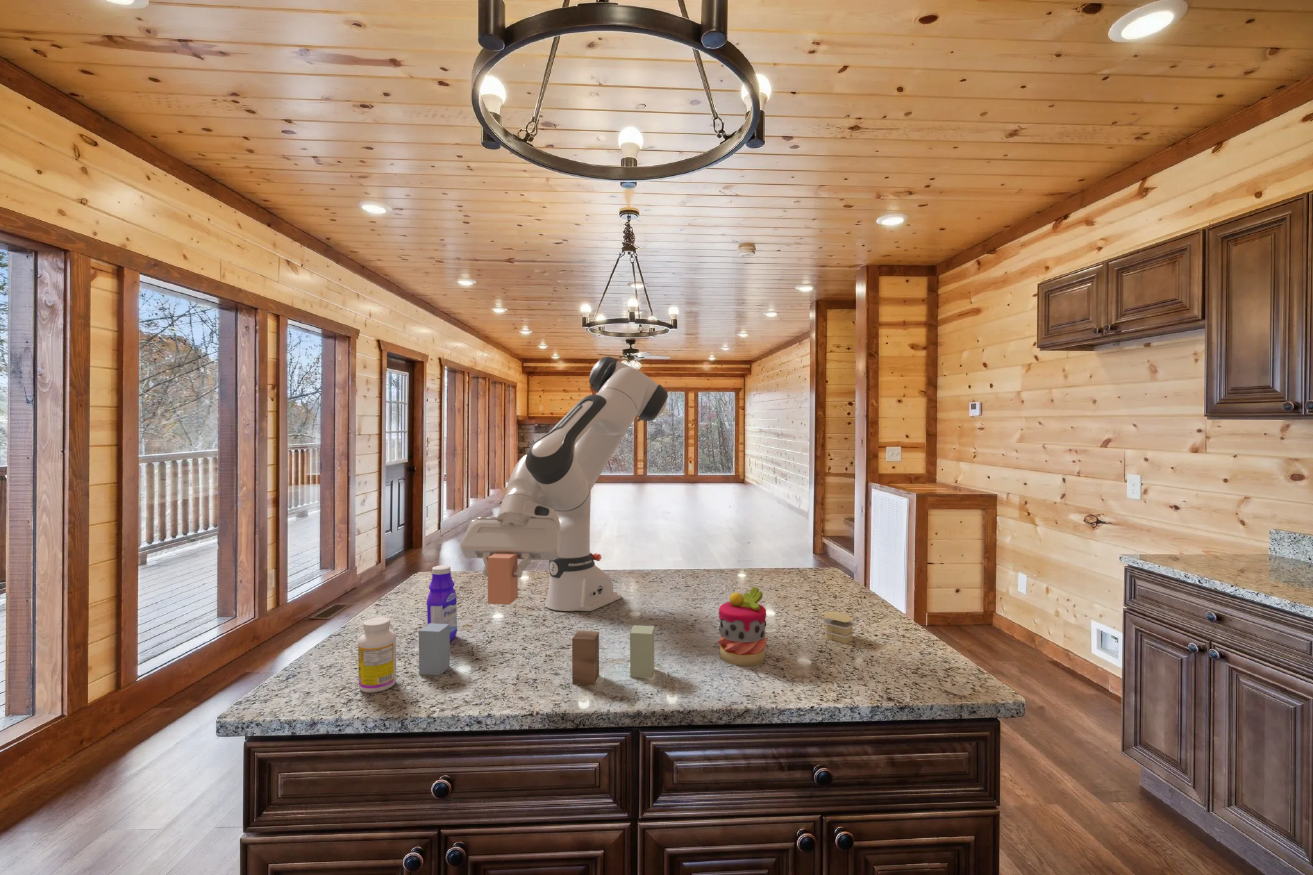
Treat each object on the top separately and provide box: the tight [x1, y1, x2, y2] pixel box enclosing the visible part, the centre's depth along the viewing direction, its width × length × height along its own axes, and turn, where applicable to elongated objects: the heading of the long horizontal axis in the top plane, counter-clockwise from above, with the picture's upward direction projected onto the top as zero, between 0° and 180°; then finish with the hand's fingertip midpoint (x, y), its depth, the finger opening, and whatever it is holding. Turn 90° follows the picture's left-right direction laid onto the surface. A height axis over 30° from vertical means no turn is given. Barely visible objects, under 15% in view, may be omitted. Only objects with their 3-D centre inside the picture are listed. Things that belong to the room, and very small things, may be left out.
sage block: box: [629, 625, 655, 679], centre depth 119 cm, size 4×4×9 cm
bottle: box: [426, 564, 458, 641], centre depth 137 cm, size 7×6×17 cm
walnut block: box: [571, 630, 600, 686], centre depth 116 cm, size 4×4×9 cm
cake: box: [717, 586, 768, 667], centre depth 127 cm, size 10×10×15 cm
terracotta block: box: [487, 553, 519, 605], centre depth 114 cm, size 4×4×9 cm
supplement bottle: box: [357, 616, 397, 694], centre depth 113 cm, size 7×7×13 cm
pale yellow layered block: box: [823, 611, 855, 644], centre depth 138 cm, size 10×9×6 cm
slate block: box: [418, 623, 451, 677], centre depth 120 cm, size 4×4×9 cm
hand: (501, 575), depth 114 cm, fingers closed on terracotta block, 4 cm apart
